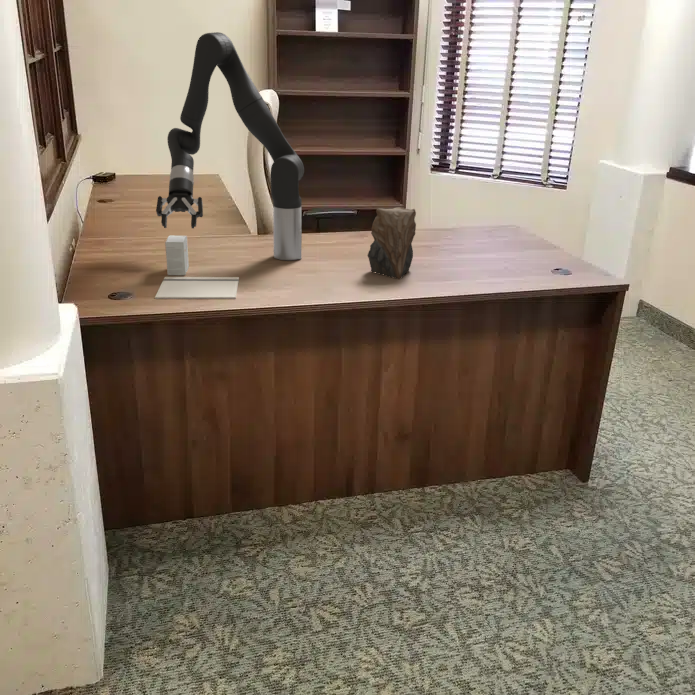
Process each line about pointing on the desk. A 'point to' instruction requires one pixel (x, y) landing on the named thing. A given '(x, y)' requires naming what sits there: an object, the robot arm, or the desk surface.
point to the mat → (198, 288)
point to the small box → (177, 255)
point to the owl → (392, 241)
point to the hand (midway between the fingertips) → (178, 226)
